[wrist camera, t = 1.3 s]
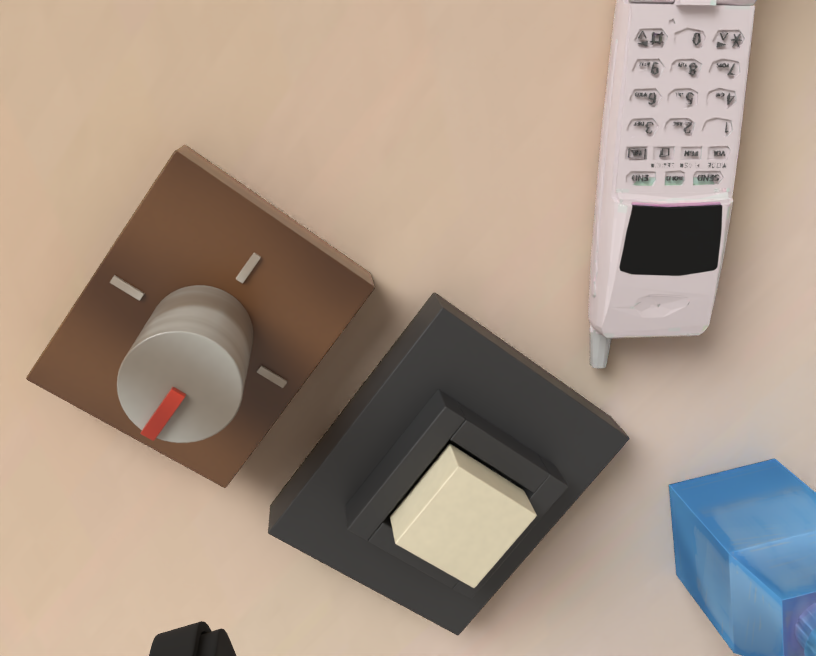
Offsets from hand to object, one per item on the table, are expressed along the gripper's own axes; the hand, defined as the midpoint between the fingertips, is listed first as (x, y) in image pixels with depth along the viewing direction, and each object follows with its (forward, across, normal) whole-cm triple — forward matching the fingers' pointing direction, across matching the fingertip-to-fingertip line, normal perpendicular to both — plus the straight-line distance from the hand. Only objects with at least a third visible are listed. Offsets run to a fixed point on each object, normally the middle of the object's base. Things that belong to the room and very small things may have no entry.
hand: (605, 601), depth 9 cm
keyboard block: (+27, 0, +13) cm, 30 cm away
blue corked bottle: (+27, -15, +22) cm, 38 cm away
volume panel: (+27, +9, +2) cm, 28 cm away
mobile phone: (+27, -14, -2) cm, 30 cm away
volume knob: (+24, +9, +2) cm, 26 cm away
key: (+23, 0, +13) cm, 26 cm away
